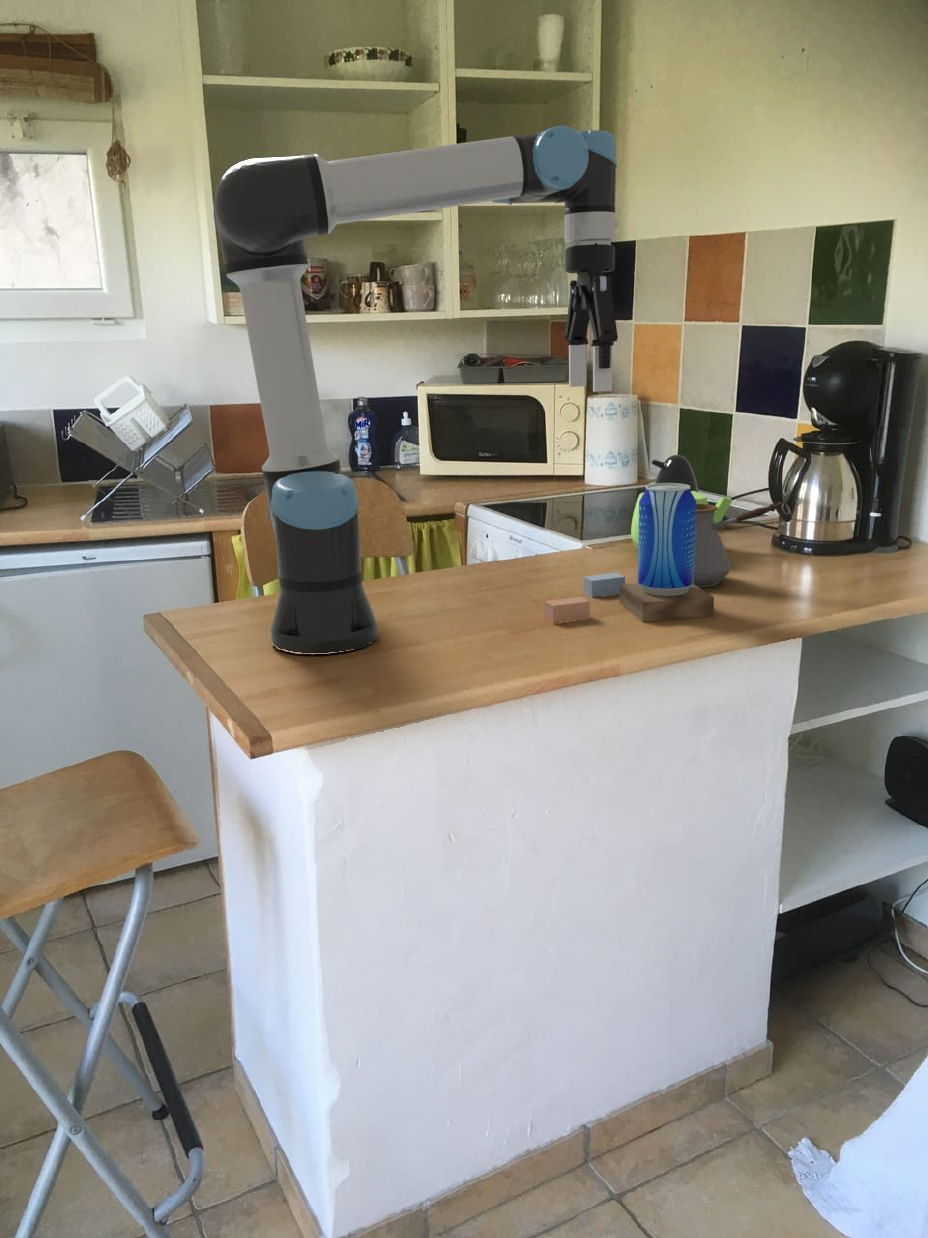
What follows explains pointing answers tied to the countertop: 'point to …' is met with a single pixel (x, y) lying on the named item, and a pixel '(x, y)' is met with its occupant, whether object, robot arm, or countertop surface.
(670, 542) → the beer can
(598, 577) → the greyblue brick
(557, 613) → the terracotta brick
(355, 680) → the countertop surface
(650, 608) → the walnut slab
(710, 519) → the coffee pot
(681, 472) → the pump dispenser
